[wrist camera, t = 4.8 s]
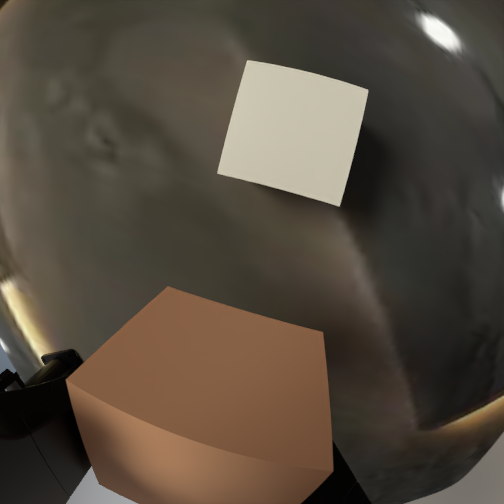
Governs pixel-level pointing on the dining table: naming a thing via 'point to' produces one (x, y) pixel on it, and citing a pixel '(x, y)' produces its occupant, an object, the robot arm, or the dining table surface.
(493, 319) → the dining table surface
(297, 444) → the terracotta cube
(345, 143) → the off-white cube
